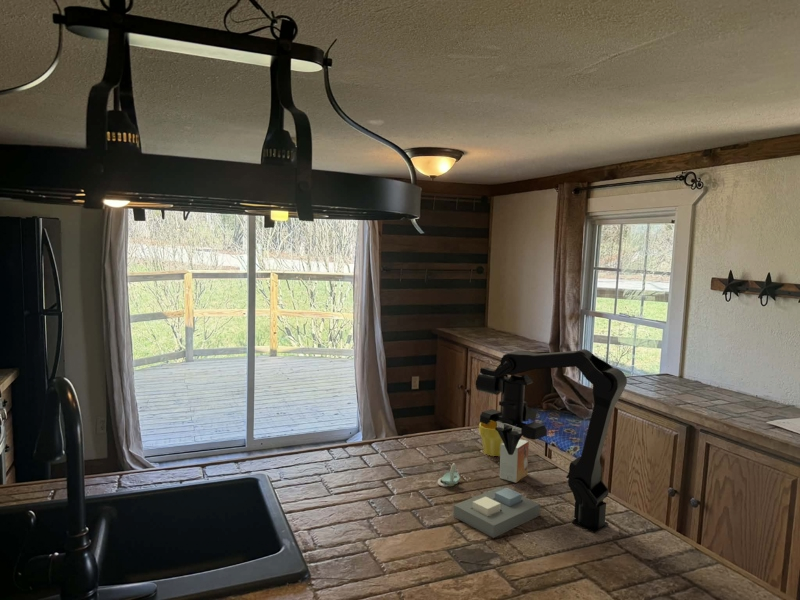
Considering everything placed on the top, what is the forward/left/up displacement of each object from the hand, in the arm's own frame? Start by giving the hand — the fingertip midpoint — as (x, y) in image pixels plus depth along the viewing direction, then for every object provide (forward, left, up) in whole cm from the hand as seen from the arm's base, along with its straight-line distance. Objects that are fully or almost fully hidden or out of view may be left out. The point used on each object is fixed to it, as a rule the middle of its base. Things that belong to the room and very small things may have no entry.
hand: (510, 454), depth 149 cm
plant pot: (+24, -22, -12) cm, 35 cm away
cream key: (-5, +15, -10) cm, 19 cm away
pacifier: (+16, +7, -12) cm, 22 cm away
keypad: (-5, +11, -12) cm, 17 cm away
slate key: (-5, +7, -10) cm, 13 cm away
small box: (+8, -12, -12) cm, 19 cm away
